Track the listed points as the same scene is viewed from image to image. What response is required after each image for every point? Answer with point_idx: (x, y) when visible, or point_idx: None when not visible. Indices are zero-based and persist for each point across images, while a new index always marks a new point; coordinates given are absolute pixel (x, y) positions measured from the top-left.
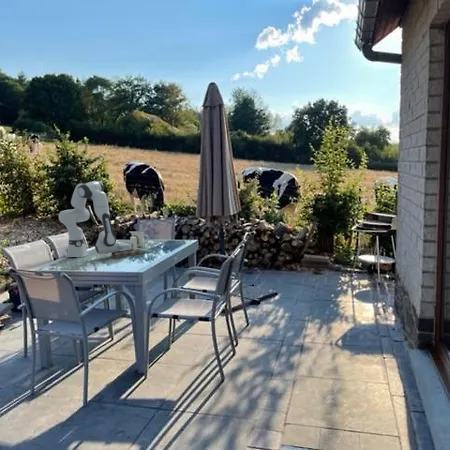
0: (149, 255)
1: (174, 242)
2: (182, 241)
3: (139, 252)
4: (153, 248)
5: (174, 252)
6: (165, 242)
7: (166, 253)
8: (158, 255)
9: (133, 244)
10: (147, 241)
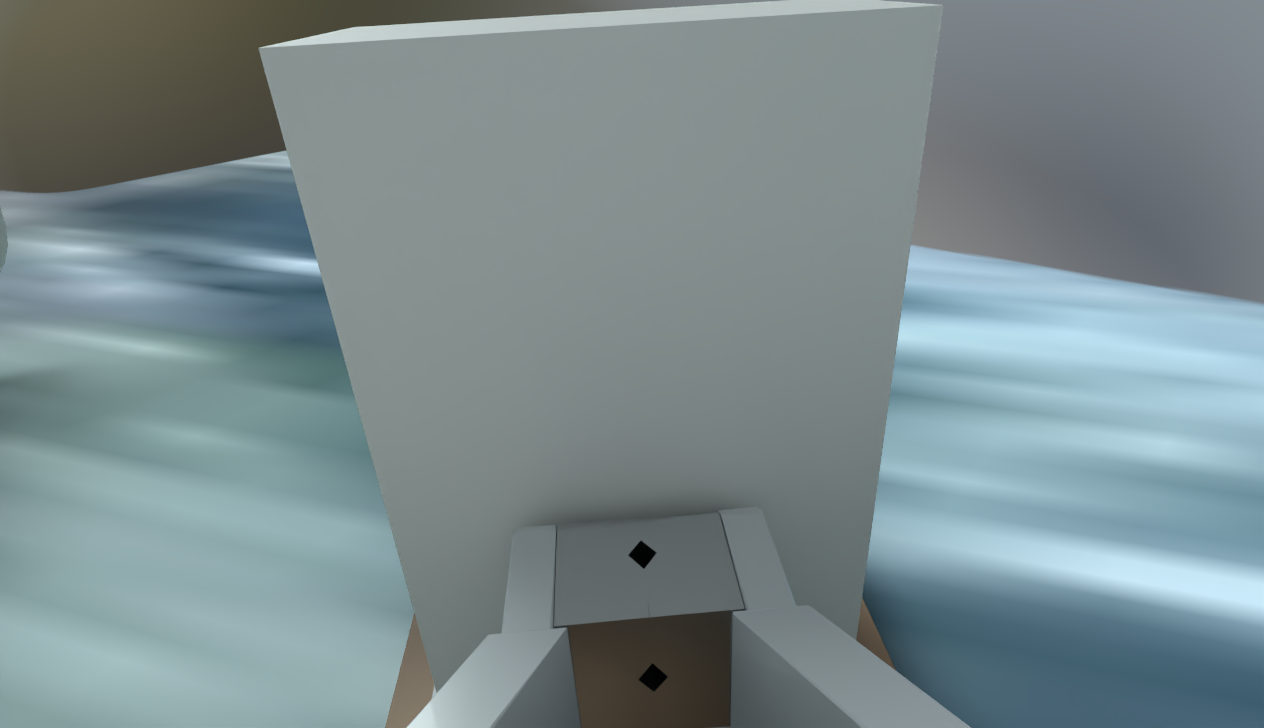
0: (1154, 514)
1: (226, 197)
2: (267, 173)
3: (864, 618)
4: (316, 334)
5: (925, 256)
6: (102, 225)
7: (976, 309)
8: (1193, 402)
9: (872, 491)
10: (3, 258)
